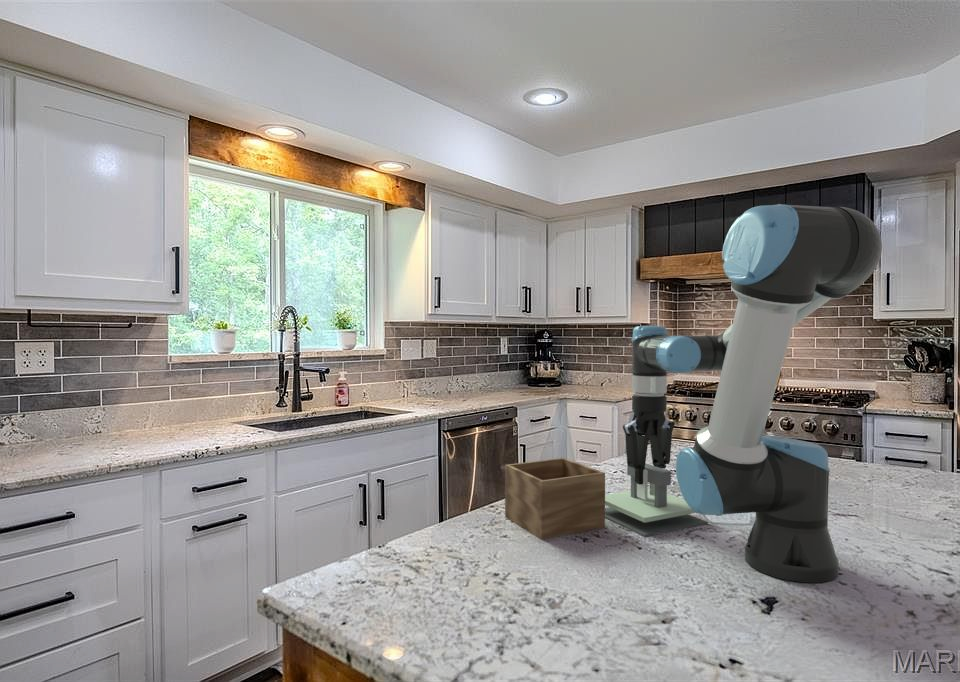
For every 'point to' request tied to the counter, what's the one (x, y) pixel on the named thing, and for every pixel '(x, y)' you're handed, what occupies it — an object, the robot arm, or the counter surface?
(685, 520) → the mat
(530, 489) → the crate
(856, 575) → the counter surface
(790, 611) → the counter surface
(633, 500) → the lid
